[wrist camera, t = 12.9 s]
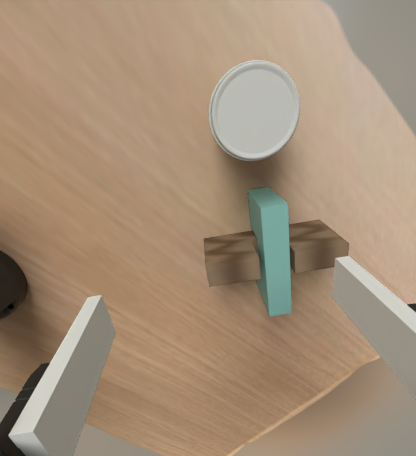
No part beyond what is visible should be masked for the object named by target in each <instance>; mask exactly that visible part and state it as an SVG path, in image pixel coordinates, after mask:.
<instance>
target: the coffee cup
mask: <svg viewBox="0 0 416 456" xmlns="http://www.w3.org/2000/svg"><path fill="white" fill-rule="evenodd" d="M299 115H300V99H299V94H298V91H297V88H296V85H295V83H294V81H293V80H292V78H291V77H290V76H289V74H288V73H287V72H286V71H285V70H284V69H282V68H281V67H280V66H278V65H276V64H274V63H272V62H268V61H264V60H252V61H247V62H244V63H241V64H239V65H237V66H235V67H233V68H232V69H231V70H229V71H228V72H227V73H226V74H225V75H224V76H223V77H222V78H221V79H220V81H219V82H218V84H217V85H216V87H215V89H214V91H213V93H212V96H211V100H210V104H209V125H210V129H211V132H212V134H213V137H214V139H215V140H216V142H217V143H218V145H219V146H220V147H221V148H222V149H223V150H224V151H225V152H226V153H227V154H229V155H230V156H232V157H234V158H237V159H240V160H244V161H258V160H263V159H266V158H268V157H270V156H272V155H274V154H276V153H277V152H278V151H280V150H281V149H282V148H283V147H284V146H285V145H286V144H287V143H288V141H289V140H290V139H291V137H292V135H293V134H294V132H295V129H296V127H297V124H298V120H299Z"/></svg>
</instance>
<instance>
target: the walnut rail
mask: <svg viewBox="0 0 416 456" xmlns="http://www.w3.org/2000/svg"><path fill="white" fill-rule="evenodd" d="M289 247H290V266H291V267H292V269H293V270H294V272H295V273H300V272H306V271H312V270H318V269H325V268H331V267H334V266H335V258H339V257H345V256H348V250H349V243H348V242H347V241H346V240H344V239H343V238H342V237H341V236H339V235H338V234H337V233H336V232H334V231H333V230H332V229H331V228H329V227H328V226H327V225H325V224H324V223H323V222H322V221H320V220H314V221H308V222H302V223H296V224H290V225H289ZM204 249H205V265H206V271H207V276H208V281H209V287H212V286H219V285H225V284H231V283H237V282H244V281H250V280H256V279H261V275H260V264H259V255H258V244H257V237H256V236H255V234H254V232H253V231H247V232H241V233H235V234H229V235H223V236H217V237H211V238H205V239H204Z"/></svg>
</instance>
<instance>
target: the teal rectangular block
mask: <svg viewBox="0 0 416 456" xmlns="http://www.w3.org/2000/svg"><path fill="white" fill-rule="evenodd" d="M247 191H248V201H249V211H250V221H251V228H252V230H253V232H254V234H255V236H256V237H257V244H258V255H259V264H260V275H261V279H256V281H257V285H258V287H259V290H260V293H261V295H262V298H263V301H264V303H265V306H266V309H267V311H268V314H269V316H276V315H282V314H289V313H292V305H291V276H290V247H289V218H288V203H287V202H286V201H285V200H283V199H282V198H281V197H280V196H279V195H278V194H277V193H276V192H275V191H273V190H272V189H271V188H270V187H264V188H258V189H252V190H247Z"/></svg>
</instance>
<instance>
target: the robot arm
mask: <svg viewBox="0 0 416 456" xmlns="http://www.w3.org/2000/svg"><path fill="white" fill-rule="evenodd" d="M26 293H27V283H26V279H25V277H24V274H23V273H22V271H21V269H20V268H19V267H18V265H17V264H16V263H15V262H14V261H13V260H12V259H11V258H10V257H8V256H7V255H6V254H4V253H3V252H1V251H0V320H1V319H3V318H5V317H7V316H8V315H9V314H11V313H12V312H13V311H14V310H15V309H16V308H17V307H18V306H19V305H20V304H21V303H22V302H23V300H24V298H25V296H26ZM332 298H333V299H334V300H335V302H336V303H337V304H338V305H339V306H340V308H341V309H342V310H343V311H344V313H345V314H346V315H347V316H348V317H349V319H350V320H351V321H352V322H353V324H354V325H355V326H356V327H357V328H358V330H359V331H360V332H361V333H362V335H363V336H364V337H365V338H366V340H367V341H368V342H369V343H370V344H371V346H372V347H373V348H374V349H375V351H376V352H377V353H378V354H379V355H380V357H381V358H382V359H383V360H384V362H385V363H386V364H387V365H388V366H389V368H390V369H391V370H392V371H393V373H394V374H395V375H396V376H397V378H399V380H400V381H401V382H402V384H403V385H404V386H405V387H406V389H407V390H408V391H409V392H410V394H411V395H412V396H413V397H414V398H415V400H416V304H415V303H414V304H408V305H406V304H405V303H404V302H403V301H402V300H400V299H399V298H398V297H397V296H396V295H394V294H393V293H392V292H391V291H390V290H389V289H387V288H386V287H385V286H384V285H383V284H381V283H380V282H379V281H378V280H377V279H375V278H374V277H373V276H372V275H371V274H369V273H368V272H367V271H366V270H365V269H364V268H362V267H361V266H360V265H359V264H358V263H356V262H355V261H354V260H353V259H352V258H350V257H349V256H345V257H339V258H335V266H334V280H333V294H332ZM115 333H116V331H115V329H114V326H113V323H112V321H111V318H110V315H109V313H108V310H107V308H106V305H105V302H104V300H103V297H102V295H100V296H93V297H88V298H87V300H86V302H85V303H84V305H83V307H82V309H81V310H80V312H79V314H78V316H77V317H76V319H75V321H74V322H73V324H72V326H71V328H70V329H69V331H68V333H67V335H66V336H65V338H64V340H63V342H62V343H61V345H60V347H59V348H58V350H57V352H56V354H55V355H54V357H53V359H52V361H51V362H50V363H46V364H41V365H40V366H39V367H38V368H37V369H36V370H35V371H34V372H33V374H32V375H31V376H30V377H29V379H28V380H27V382H26V383H25V385H24V387H23V388H22V391H20V393H19V395H18V396H17V398H16V401H15V402H14V403H13V404H12V406H11V407H10V409H9V411H8V412H7V414H6V415H5V417H4V418H3V420H2V422H1V423H0V456H73V454H74V451H75V448H76V445H77V442H78V440H79V437H80V434H81V431H82V428H83V425H84V422H85V420H86V417H87V414H88V411H89V408H90V405H91V402H92V399H93V397H94V394H95V391H96V388H97V385H98V382H99V379H100V377H101V374H102V371H103V368H104V365H105V362H106V359H107V356H108V354H109V351H110V348H111V345H112V342H113V339H114V336H115Z"/></svg>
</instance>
